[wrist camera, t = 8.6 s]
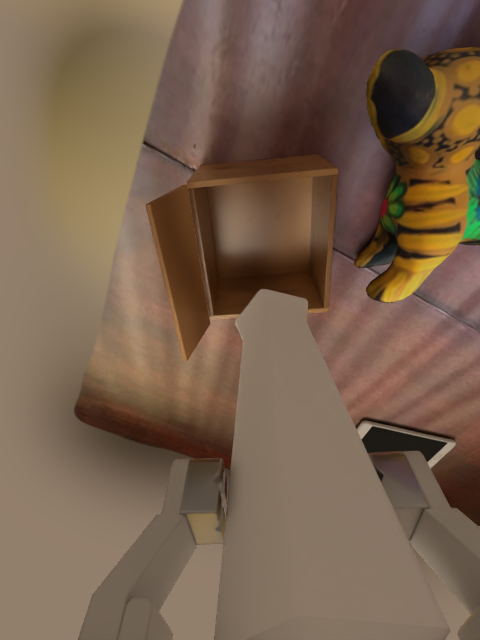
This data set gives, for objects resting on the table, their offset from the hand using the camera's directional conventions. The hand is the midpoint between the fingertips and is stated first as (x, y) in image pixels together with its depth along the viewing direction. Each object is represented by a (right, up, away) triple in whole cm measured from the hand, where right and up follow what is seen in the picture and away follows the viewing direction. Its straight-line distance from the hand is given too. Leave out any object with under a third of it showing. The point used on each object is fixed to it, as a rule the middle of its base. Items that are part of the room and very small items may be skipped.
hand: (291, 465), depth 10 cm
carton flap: (-5, +7, +11) cm, 15 cm away
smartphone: (+21, -14, +37) cm, 45 cm away
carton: (0, +13, +20) cm, 24 cm away
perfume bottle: (0, +5, +7) cm, 8 cm away
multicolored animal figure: (+16, +17, +17) cm, 29 cm away
